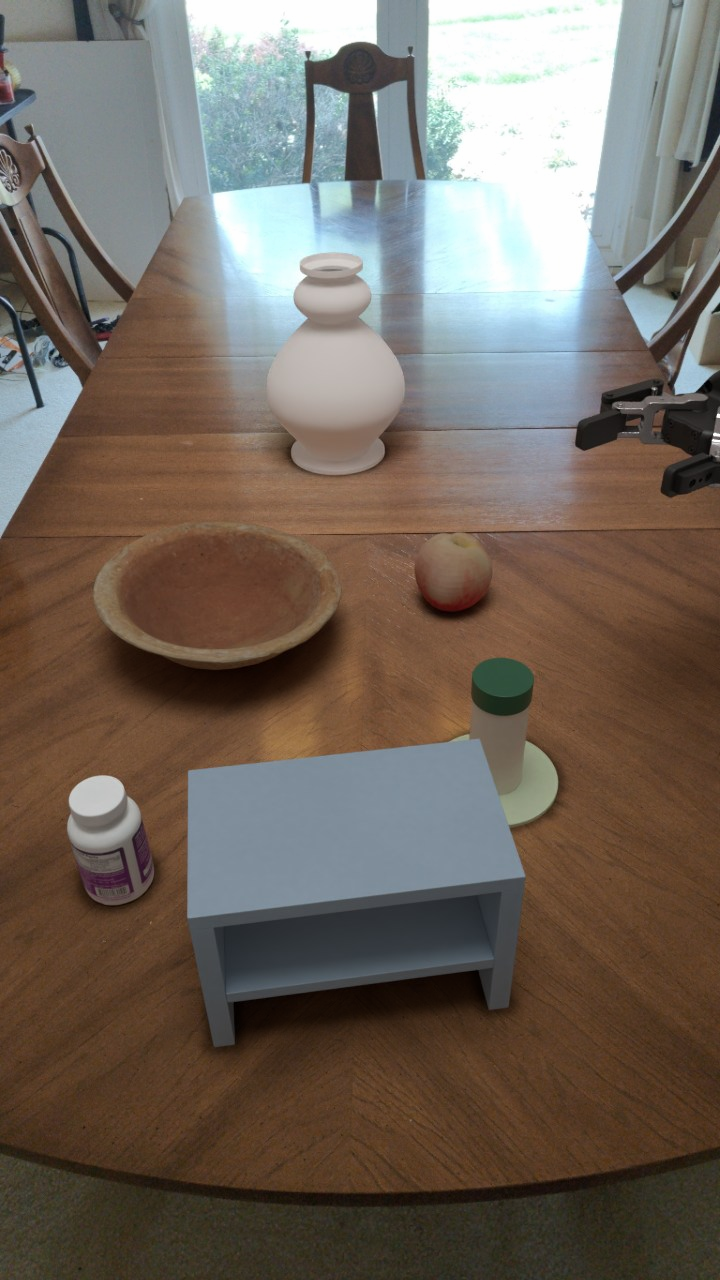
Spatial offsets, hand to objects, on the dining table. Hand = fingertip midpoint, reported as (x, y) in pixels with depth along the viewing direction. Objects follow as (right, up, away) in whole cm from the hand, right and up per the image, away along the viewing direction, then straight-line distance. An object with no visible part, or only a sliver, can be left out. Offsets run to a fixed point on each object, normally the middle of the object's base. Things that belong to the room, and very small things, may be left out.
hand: (620, 459), depth 70 cm
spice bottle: (-7, -24, +14) cm, 29 cm away
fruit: (-9, -9, +35) cm, 37 cm away
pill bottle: (-37, -32, +6) cm, 49 cm away
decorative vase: (-22, +12, +62) cm, 67 cm away
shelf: (-19, -35, +1) cm, 40 cm away
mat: (-7, -25, +14) cm, 29 cm away
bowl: (-32, -13, +30) cm, 46 cm away
